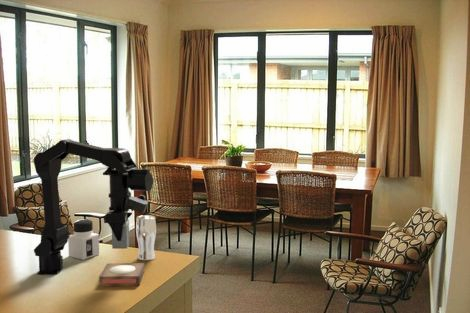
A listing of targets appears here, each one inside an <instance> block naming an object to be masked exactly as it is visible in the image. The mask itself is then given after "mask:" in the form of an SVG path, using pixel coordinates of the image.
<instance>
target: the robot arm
mask: <svg viewBox="0 0 470 313" xmlns="http://www.w3.org/2000/svg"><path fill="white" fill-rule="evenodd" d="M69 154H70V155H72V156H78V157H81V158H85V159H90V160H94V161H97V162H99V163H100V164H102V165H103V166H105V167H107V168H106V170H104V172H102V175H103V176H109V193H108V198H109V207H108V211H107V213H106V214H105V215H104V216H103V223H104V224H108V226H109V227H110V229H111V232H112V231H113V233H114V235H115V237H116V239H117V241H121V238H122V232H123V225H124V224H125V223H126V222H127V220H129V218H130V217H131V216H132V215H133V212H138V213H139V214H143V215H144V213H145V211H146V210H147V208H148V207H147V206H148V204H149V202H148V200H146V195H144V194H140V195H139V196H132V192H131V191H139V192H140V191H142V192H151V190H152V189H153V186H154V178H153V174H152V173H151V172H150V170H151V169H150V168H147V167H146V168H139V167H138V166H137V164H136V163H135V162H134V159H132V157H131V154H130V150H128V149H127V148H122V147H102V146H95V145H92V144H89V143H84V142H80V141H75V140H72V139H69V138H67V139H61V140H60V141H58V142H57V143H55V144H54V145H52V146H50V147H48V148H47V149H45V150H44V151H43V152H42V151H41V152H37V154H36V155H35V156H34V157H33V165H34V169H35V172H36V174H37V175H38V177H39V179H40V181H41V190H42V191H41V192H42V193H41V194H42V203H43V213H44V214H43V215H44V225H43V227H42V230H41V234H40V242H39V244H38V245H36V247H35V248H34V249H33V253H34V255H35V257H38V271H37V275H54V274H55V275H58V274H59V272H60V271H62V269H63V268H64V264H63V263H64V258H63V255H62V253H61V252H62V251H63V250H65V249H64V248H65V246H66V244H67V243H68V238H69V237H70V236H69V235H70V234H69V225H64V223H63V222H62V218H61V206H60V194H59V193H60V192H59V181H58V178H59V176H60V173H61V170H62V161H64V159H66V158H67V157H68V156H69ZM130 190H131V191H130ZM130 210H131V212H130Z"/></svg>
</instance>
